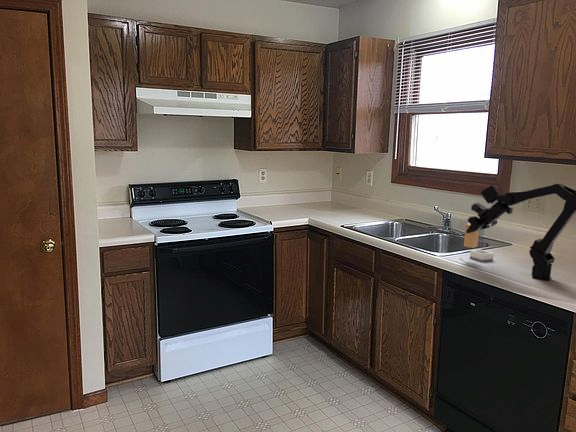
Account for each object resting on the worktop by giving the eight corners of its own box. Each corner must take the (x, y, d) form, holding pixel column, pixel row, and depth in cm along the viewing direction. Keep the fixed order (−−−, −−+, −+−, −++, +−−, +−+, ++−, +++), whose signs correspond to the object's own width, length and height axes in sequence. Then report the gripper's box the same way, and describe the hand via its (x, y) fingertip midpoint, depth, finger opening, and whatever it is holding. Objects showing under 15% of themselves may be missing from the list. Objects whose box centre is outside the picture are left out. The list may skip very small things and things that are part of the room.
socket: (492, 260, 226) (493, 252, 225) (482, 261, 222) (483, 254, 222) (480, 256, 232) (481, 249, 231) (469, 257, 229) (470, 250, 228)
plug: (477, 246, 222) (480, 220, 220) (472, 248, 219) (475, 221, 217) (468, 244, 225) (470, 218, 223) (463, 246, 222) (466, 219, 220)
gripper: (493, 196, 222) (468, 216, 232) (473, 199, 209) (448, 220, 219) (508, 215, 217) (482, 234, 227) (489, 219, 205) (463, 240, 215)
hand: (469, 231), depth 222 cm, fingers closed on plug, 4 cm apart
